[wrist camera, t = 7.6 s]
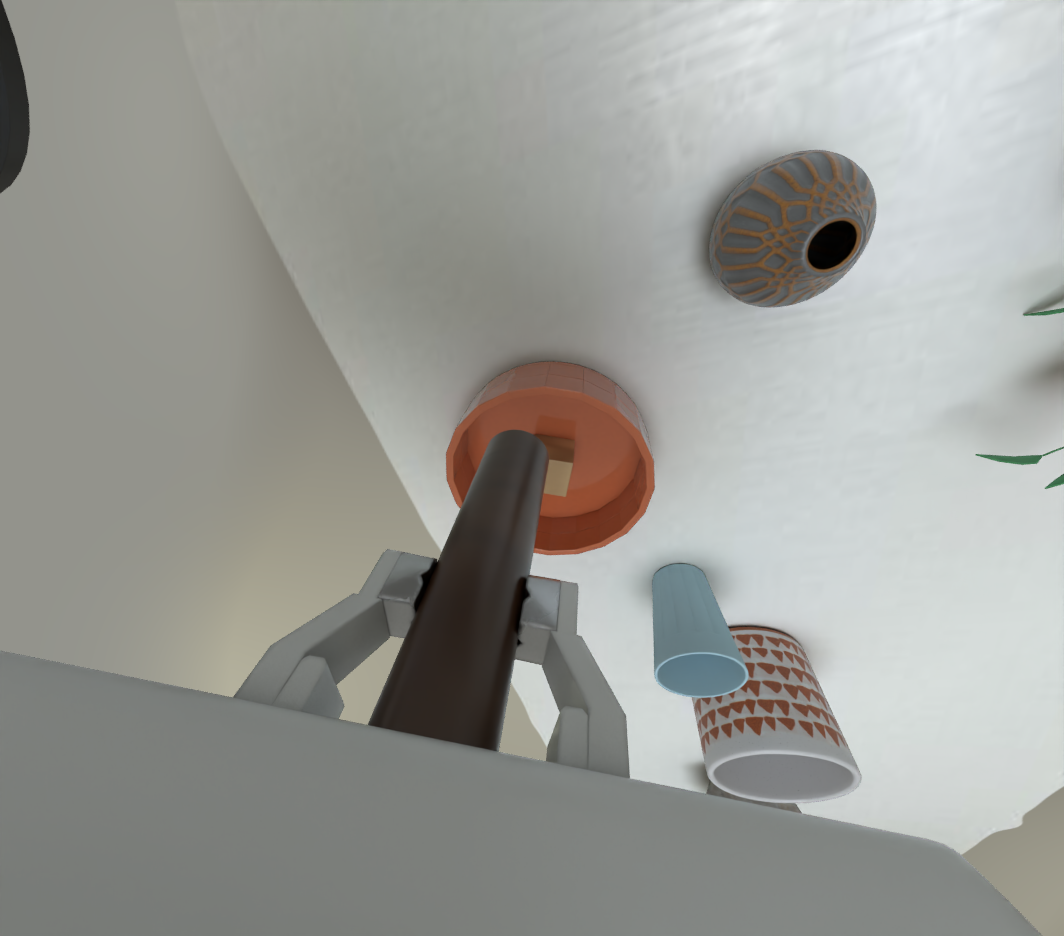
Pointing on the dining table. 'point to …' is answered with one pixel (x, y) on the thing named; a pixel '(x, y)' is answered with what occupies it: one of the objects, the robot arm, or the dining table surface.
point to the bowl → (599, 453)
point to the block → (558, 464)
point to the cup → (692, 636)
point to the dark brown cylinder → (472, 606)
